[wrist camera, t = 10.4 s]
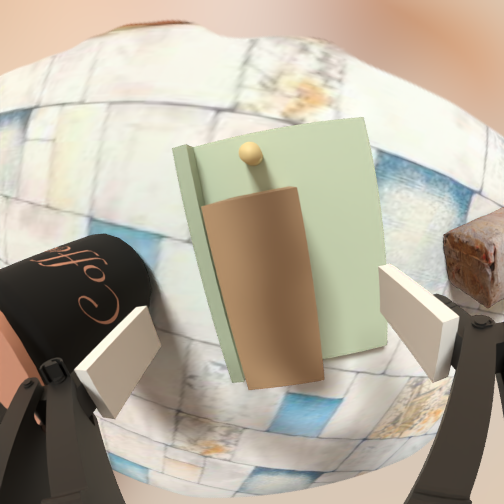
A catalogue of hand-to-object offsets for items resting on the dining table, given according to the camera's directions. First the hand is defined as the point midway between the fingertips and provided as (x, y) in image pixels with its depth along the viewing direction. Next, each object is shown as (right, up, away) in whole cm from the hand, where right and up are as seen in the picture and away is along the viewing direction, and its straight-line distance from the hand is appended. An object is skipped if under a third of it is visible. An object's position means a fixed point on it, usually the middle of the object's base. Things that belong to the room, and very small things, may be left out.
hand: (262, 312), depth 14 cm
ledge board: (+3, +3, +10) cm, 12 cm away
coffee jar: (-16, 0, +13) cm, 20 cm away
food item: (+26, +4, +8) cm, 28 cm away
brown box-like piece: (+1, +2, +9) cm, 10 cm away
